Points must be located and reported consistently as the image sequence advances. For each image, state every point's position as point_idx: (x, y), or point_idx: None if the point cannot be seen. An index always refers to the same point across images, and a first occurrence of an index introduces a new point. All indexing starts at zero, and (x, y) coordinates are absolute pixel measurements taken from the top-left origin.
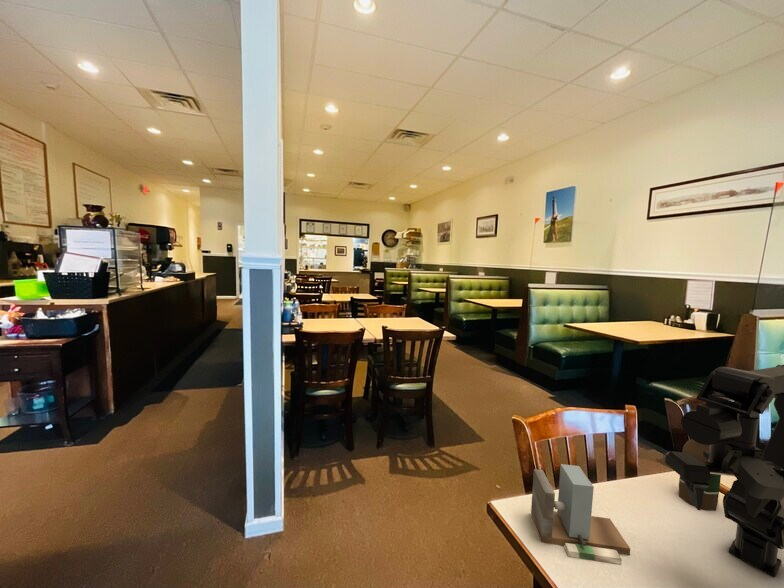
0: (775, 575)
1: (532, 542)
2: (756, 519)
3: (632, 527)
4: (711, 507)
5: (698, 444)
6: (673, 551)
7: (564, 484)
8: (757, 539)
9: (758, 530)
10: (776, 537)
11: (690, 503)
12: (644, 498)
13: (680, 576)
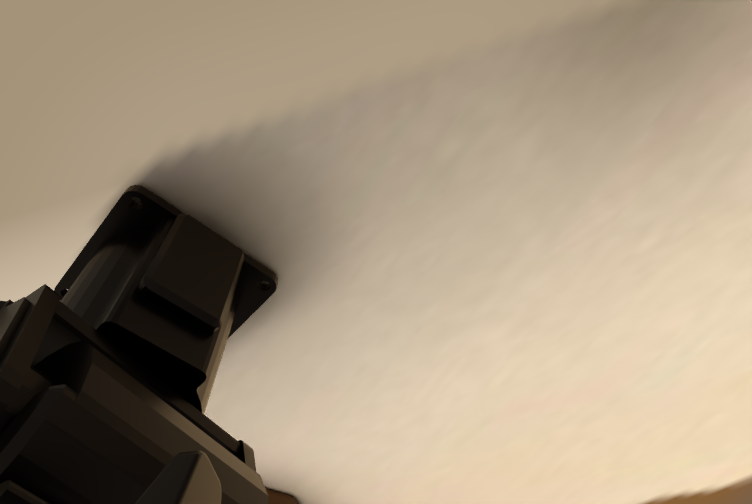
0: (127, 190)
1: None
2: (125, 450)
3: (702, 301)
4: None
5: None
6: (582, 201)
7: None
8: (148, 333)
9: (132, 377)
10: (38, 341)
11: (291, 500)
12: (489, 482)
13: (684, 17)
